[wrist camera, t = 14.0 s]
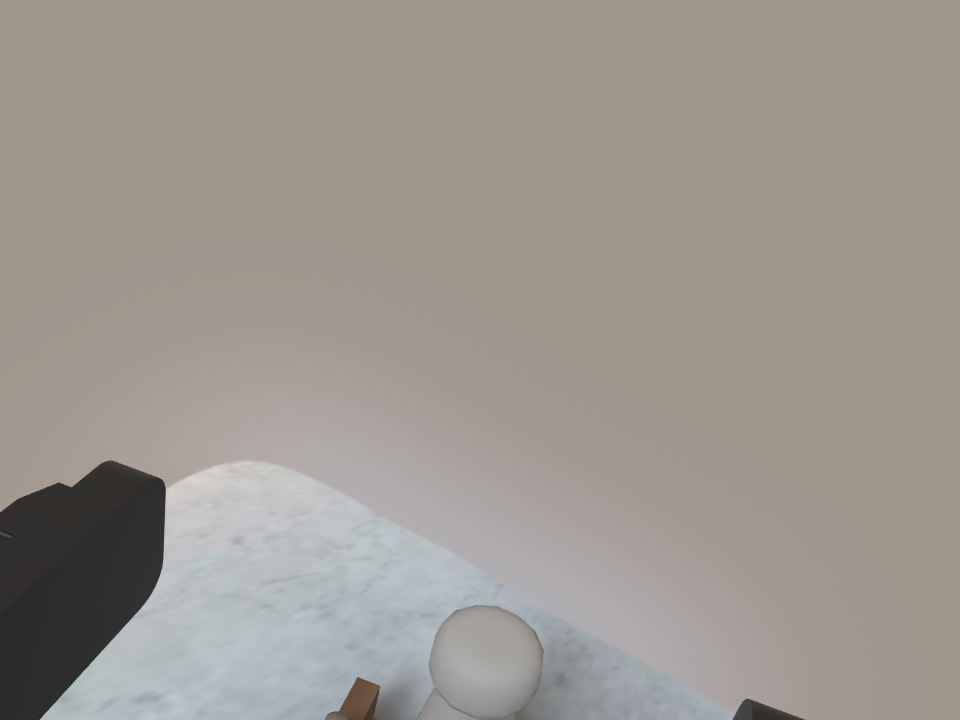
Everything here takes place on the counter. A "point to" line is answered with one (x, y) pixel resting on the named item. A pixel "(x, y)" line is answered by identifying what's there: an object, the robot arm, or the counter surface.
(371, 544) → the counter surface
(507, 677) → the salt shaker
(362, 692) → the wooden stand
